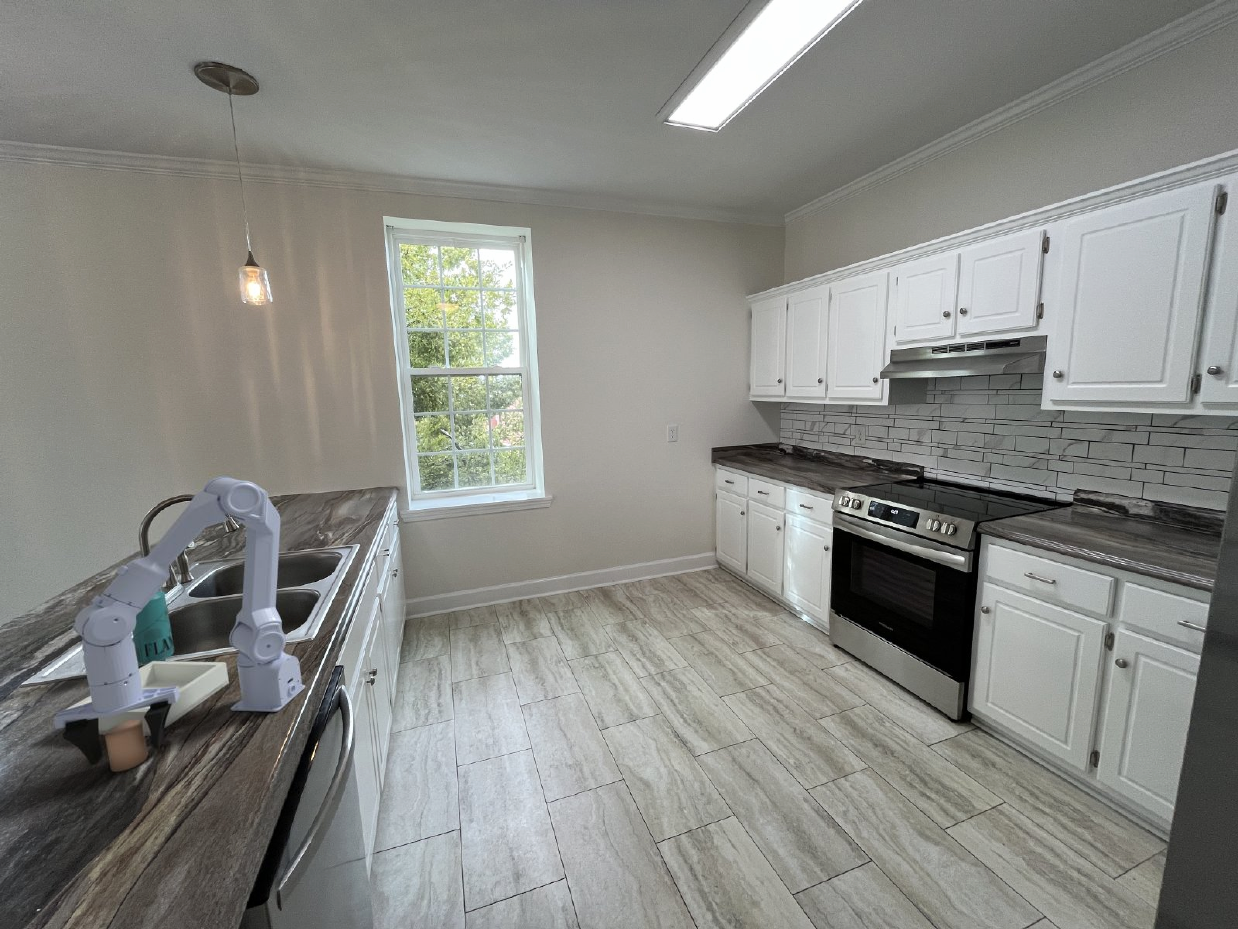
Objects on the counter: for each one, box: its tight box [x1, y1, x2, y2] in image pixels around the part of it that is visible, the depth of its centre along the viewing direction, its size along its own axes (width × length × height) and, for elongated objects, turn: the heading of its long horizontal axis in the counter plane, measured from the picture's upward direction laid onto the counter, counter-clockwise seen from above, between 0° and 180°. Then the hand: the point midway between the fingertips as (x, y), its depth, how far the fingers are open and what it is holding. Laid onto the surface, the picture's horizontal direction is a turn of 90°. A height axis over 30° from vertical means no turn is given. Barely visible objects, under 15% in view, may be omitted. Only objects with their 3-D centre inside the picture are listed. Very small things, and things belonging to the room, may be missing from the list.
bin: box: [65, 660, 230, 737], centre depth 97 cm, size 16×16×5 cm
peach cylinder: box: [104, 720, 149, 773], centre depth 82 cm, size 4×4×6 cm
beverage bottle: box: [131, 589, 175, 665], centre depth 111 cm, size 6×7×20 cm
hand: (128, 752), depth 82 cm, fingers open, 7 cm apart
